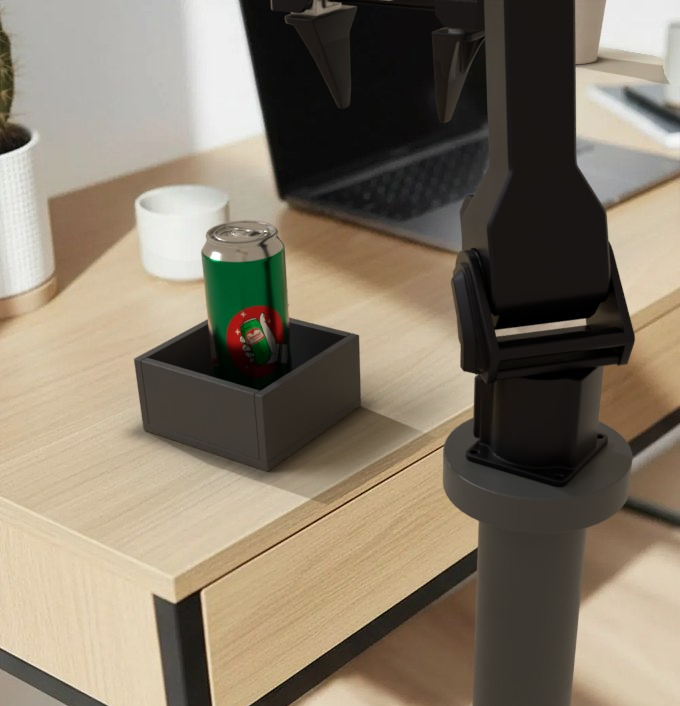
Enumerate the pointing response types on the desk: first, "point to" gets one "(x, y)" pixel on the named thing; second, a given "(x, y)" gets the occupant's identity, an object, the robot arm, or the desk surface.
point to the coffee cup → (588, 29)
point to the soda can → (247, 303)
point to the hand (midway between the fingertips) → (393, 114)
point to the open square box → (249, 395)
